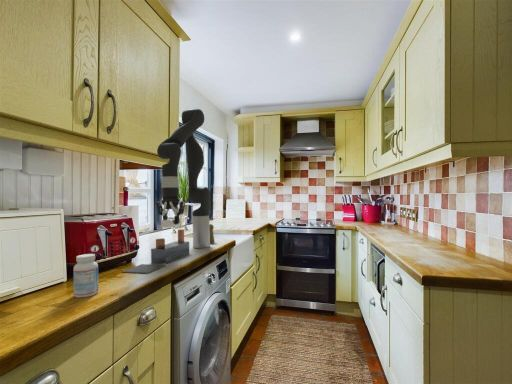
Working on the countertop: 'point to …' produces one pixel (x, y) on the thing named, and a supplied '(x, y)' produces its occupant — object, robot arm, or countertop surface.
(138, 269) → the rubber mat
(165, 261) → the bench plane
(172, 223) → the lever cap
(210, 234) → the cork
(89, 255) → the pill bottle
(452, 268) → the countertop surface
